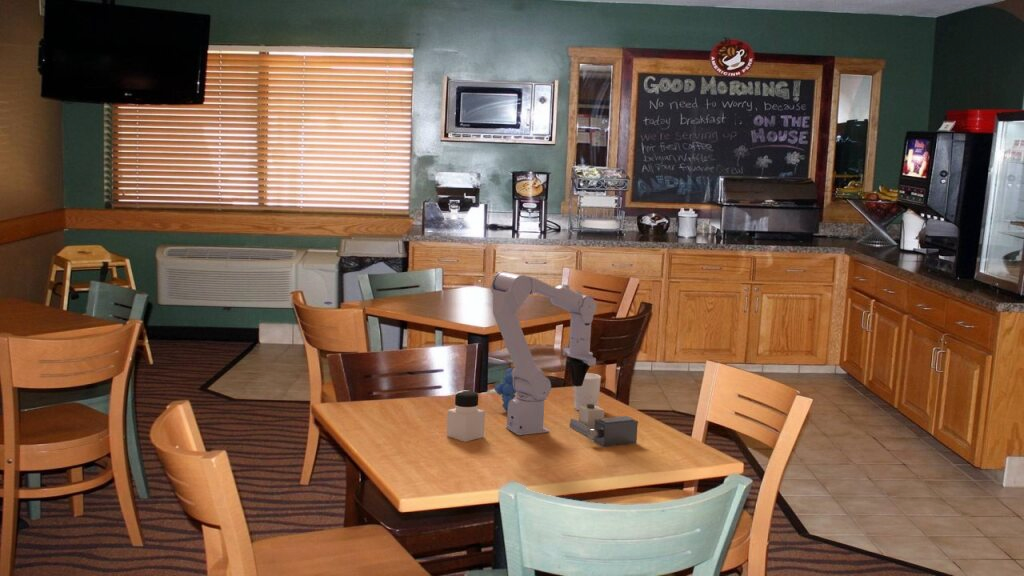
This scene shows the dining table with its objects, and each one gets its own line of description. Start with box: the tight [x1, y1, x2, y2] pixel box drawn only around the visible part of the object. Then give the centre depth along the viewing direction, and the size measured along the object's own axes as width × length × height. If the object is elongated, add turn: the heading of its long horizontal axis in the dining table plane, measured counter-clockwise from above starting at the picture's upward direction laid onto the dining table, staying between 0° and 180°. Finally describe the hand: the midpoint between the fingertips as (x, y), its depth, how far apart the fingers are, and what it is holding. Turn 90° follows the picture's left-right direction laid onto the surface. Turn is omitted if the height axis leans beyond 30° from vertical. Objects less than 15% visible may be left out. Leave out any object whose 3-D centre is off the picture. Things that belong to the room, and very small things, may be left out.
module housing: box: [569, 415, 639, 448], centre depth 258 cm, size 13×19×6 cm
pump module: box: [577, 404, 605, 429], centre depth 263 cm, size 5×5×6 cm
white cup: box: [573, 372, 602, 411], centre depth 285 cm, size 8×8×10 cm
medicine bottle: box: [446, 389, 486, 443], centre depth 252 cm, size 7×7×12 cm
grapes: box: [494, 367, 517, 412], centre depth 280 cm, size 12×7×12 cm, turn 175°
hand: (577, 385), depth 269 cm, fingers closed
